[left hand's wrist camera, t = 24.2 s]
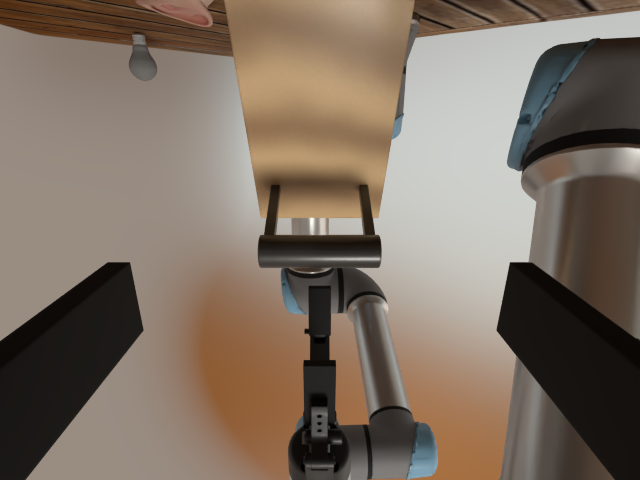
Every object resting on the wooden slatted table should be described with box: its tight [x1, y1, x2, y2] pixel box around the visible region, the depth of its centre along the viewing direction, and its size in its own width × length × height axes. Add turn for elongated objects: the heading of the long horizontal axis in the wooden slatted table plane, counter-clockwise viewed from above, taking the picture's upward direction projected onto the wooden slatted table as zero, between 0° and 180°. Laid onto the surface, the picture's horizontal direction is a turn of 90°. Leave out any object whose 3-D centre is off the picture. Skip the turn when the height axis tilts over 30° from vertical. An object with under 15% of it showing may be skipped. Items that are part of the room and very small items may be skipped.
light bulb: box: [129, 33, 157, 81], centre depth 85 cm, size 6×6×10 cm
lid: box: [224, 0, 415, 268], centre depth 22 cm, size 16×10×8 cm
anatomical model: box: [135, 0, 213, 27], centre depth 51 cm, size 13×4×12 cm
